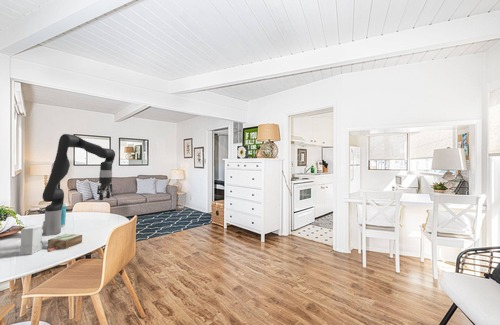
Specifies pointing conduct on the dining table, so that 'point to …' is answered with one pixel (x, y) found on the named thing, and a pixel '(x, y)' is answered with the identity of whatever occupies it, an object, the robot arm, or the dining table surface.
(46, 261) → the dining table surface
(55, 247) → the arrow marker
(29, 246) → the skincare box
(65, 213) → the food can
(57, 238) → the stand
